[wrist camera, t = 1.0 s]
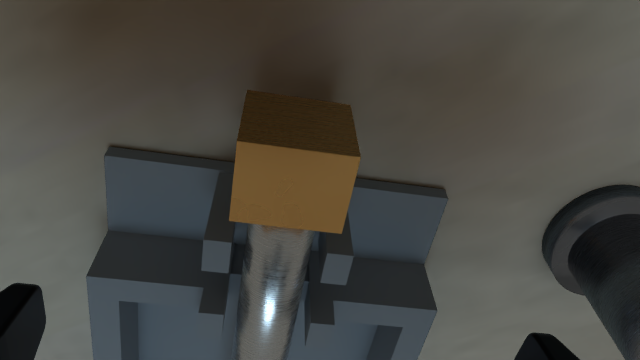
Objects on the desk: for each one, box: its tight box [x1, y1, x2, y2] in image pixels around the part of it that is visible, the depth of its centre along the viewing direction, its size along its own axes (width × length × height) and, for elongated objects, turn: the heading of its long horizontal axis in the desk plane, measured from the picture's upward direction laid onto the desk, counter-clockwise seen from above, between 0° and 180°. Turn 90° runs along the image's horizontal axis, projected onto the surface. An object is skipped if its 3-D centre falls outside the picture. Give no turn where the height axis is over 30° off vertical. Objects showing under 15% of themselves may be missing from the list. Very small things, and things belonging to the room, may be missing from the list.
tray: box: [86, 147, 448, 360], centre depth 21 cm, size 12×15×4 cm
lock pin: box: [229, 90, 361, 360], centre depth 18 cm, size 3×14×3 cm, turn 170°
